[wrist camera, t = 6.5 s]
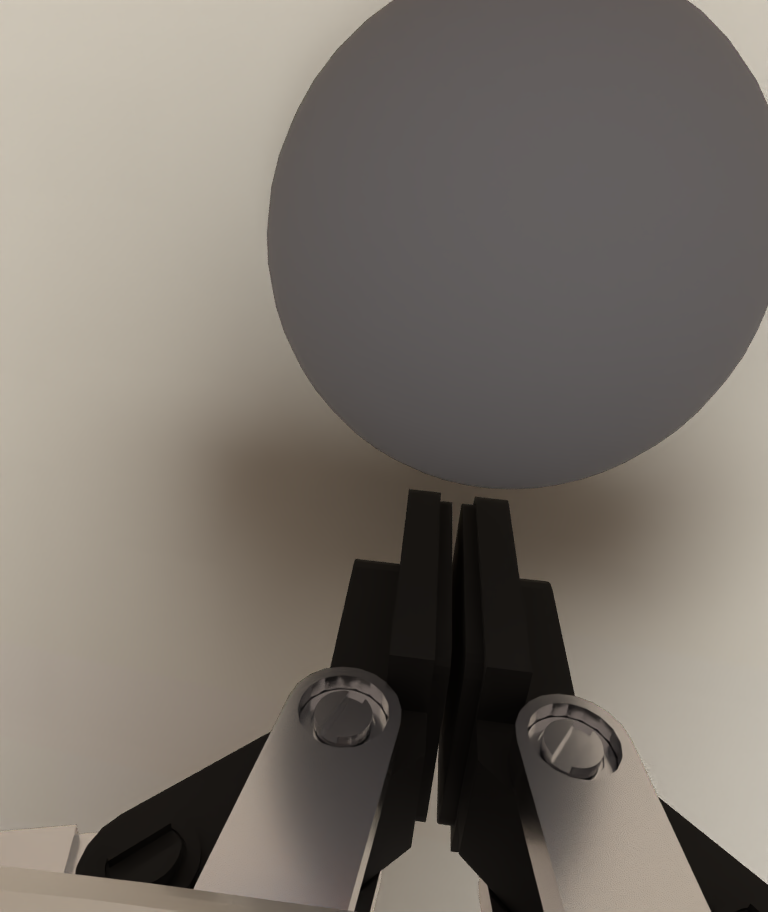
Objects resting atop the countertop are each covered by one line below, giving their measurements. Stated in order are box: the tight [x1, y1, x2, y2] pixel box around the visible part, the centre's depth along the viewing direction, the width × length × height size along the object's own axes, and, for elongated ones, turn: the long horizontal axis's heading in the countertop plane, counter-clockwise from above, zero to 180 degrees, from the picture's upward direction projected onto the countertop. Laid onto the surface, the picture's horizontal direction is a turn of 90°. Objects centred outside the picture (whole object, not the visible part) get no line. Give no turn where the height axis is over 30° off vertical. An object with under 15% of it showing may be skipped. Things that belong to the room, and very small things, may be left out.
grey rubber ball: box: [267, 0, 768, 489], centre depth 8 cm, size 6×6×6 cm
